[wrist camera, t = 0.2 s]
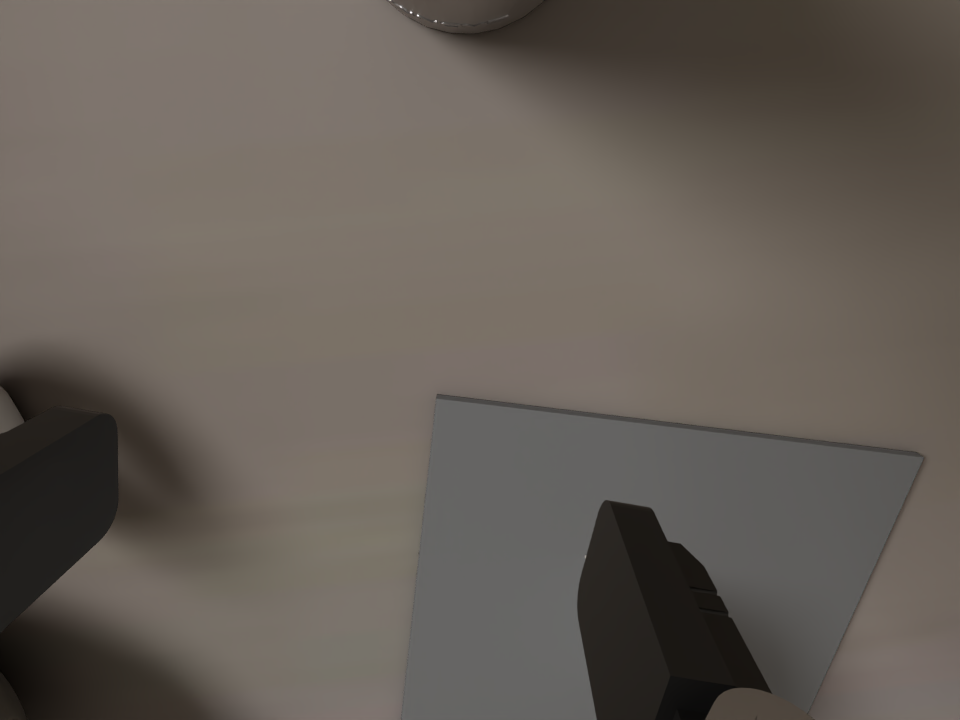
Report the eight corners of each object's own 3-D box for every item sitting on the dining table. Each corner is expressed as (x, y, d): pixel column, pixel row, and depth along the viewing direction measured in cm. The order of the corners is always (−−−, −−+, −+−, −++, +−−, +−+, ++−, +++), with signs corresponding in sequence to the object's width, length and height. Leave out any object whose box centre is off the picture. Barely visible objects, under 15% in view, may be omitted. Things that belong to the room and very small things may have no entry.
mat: (437, 394, 28) (436, 398, 28) (917, 452, 29) (924, 457, 29) (399, 740, 37) (397, 747, 36) (771, 777, 38) (774, 786, 37)
